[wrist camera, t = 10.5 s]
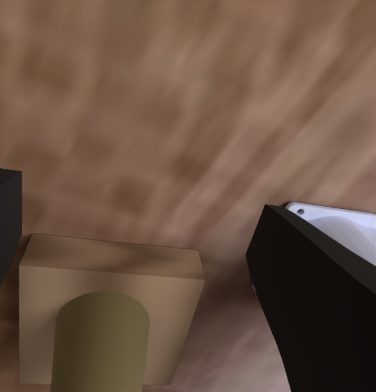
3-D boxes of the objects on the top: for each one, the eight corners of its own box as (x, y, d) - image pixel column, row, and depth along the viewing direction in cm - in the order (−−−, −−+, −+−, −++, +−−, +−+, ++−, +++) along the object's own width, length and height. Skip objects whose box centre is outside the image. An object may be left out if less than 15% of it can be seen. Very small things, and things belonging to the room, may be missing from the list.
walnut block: (198, 250, 24) (205, 280, 22) (167, 350, 29) (170, 384, 27) (32, 233, 22) (19, 265, 19) (30, 346, 27) (19, 383, 24)
